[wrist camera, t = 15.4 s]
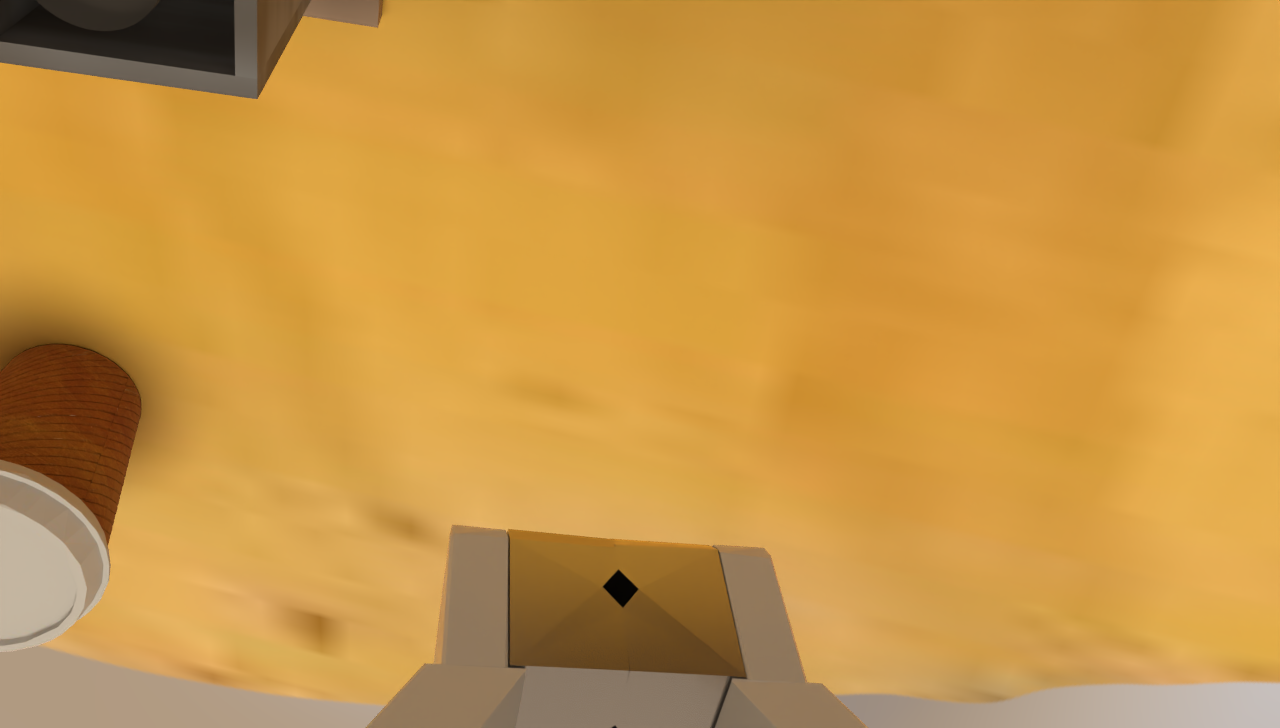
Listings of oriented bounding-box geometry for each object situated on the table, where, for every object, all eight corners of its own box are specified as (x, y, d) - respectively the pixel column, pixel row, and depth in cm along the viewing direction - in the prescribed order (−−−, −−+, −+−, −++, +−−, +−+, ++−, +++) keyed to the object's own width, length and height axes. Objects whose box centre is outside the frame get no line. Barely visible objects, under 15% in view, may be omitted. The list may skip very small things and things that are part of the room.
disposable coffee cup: (214, 385, 52) (144, 561, 43) (115, 502, 56) (30, 689, 46) (22, 276, 48) (-105, 443, 38) (-72, 409, 52) (-210, 594, 42)
